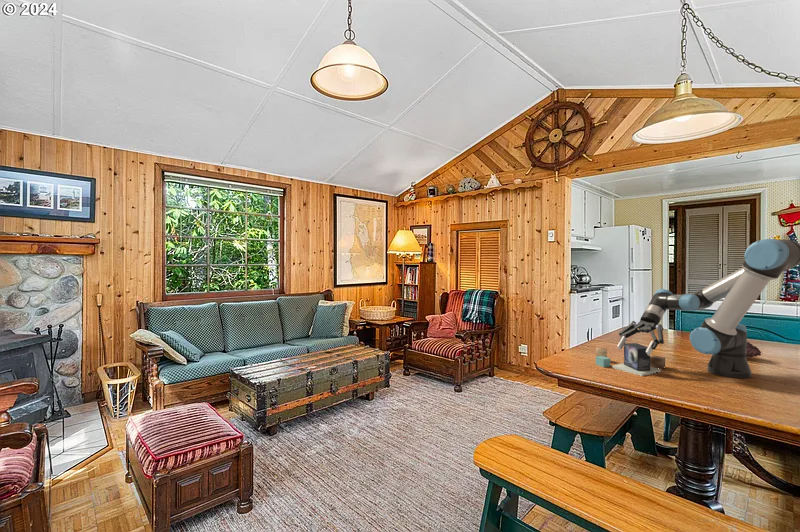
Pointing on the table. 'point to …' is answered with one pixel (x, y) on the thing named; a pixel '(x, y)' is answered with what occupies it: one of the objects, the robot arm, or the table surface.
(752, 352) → the pine cone
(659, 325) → the robot arm
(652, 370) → the tile
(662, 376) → the table surface
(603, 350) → the oak cylinder
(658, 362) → the walnut block
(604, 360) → the teal block
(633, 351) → the small box
